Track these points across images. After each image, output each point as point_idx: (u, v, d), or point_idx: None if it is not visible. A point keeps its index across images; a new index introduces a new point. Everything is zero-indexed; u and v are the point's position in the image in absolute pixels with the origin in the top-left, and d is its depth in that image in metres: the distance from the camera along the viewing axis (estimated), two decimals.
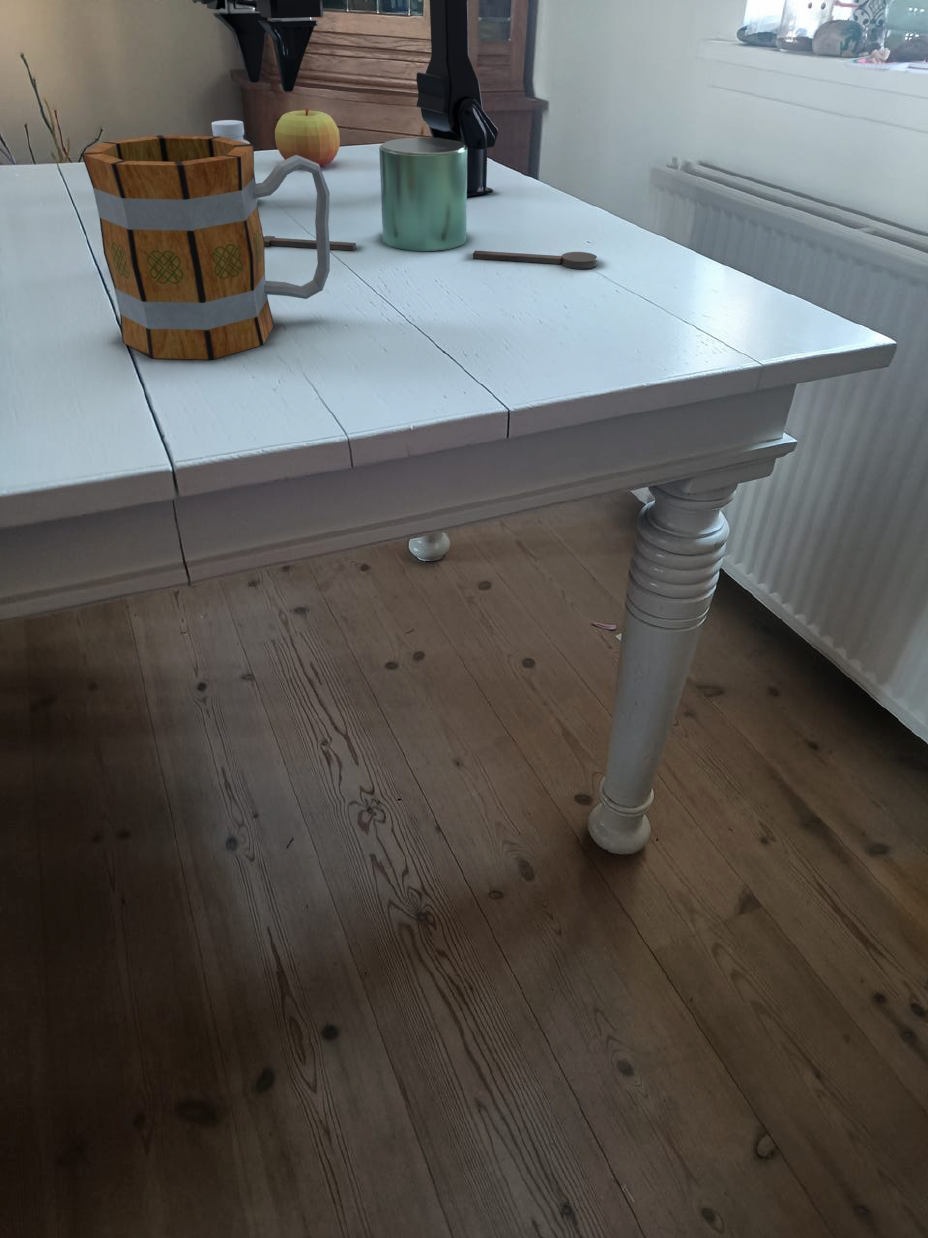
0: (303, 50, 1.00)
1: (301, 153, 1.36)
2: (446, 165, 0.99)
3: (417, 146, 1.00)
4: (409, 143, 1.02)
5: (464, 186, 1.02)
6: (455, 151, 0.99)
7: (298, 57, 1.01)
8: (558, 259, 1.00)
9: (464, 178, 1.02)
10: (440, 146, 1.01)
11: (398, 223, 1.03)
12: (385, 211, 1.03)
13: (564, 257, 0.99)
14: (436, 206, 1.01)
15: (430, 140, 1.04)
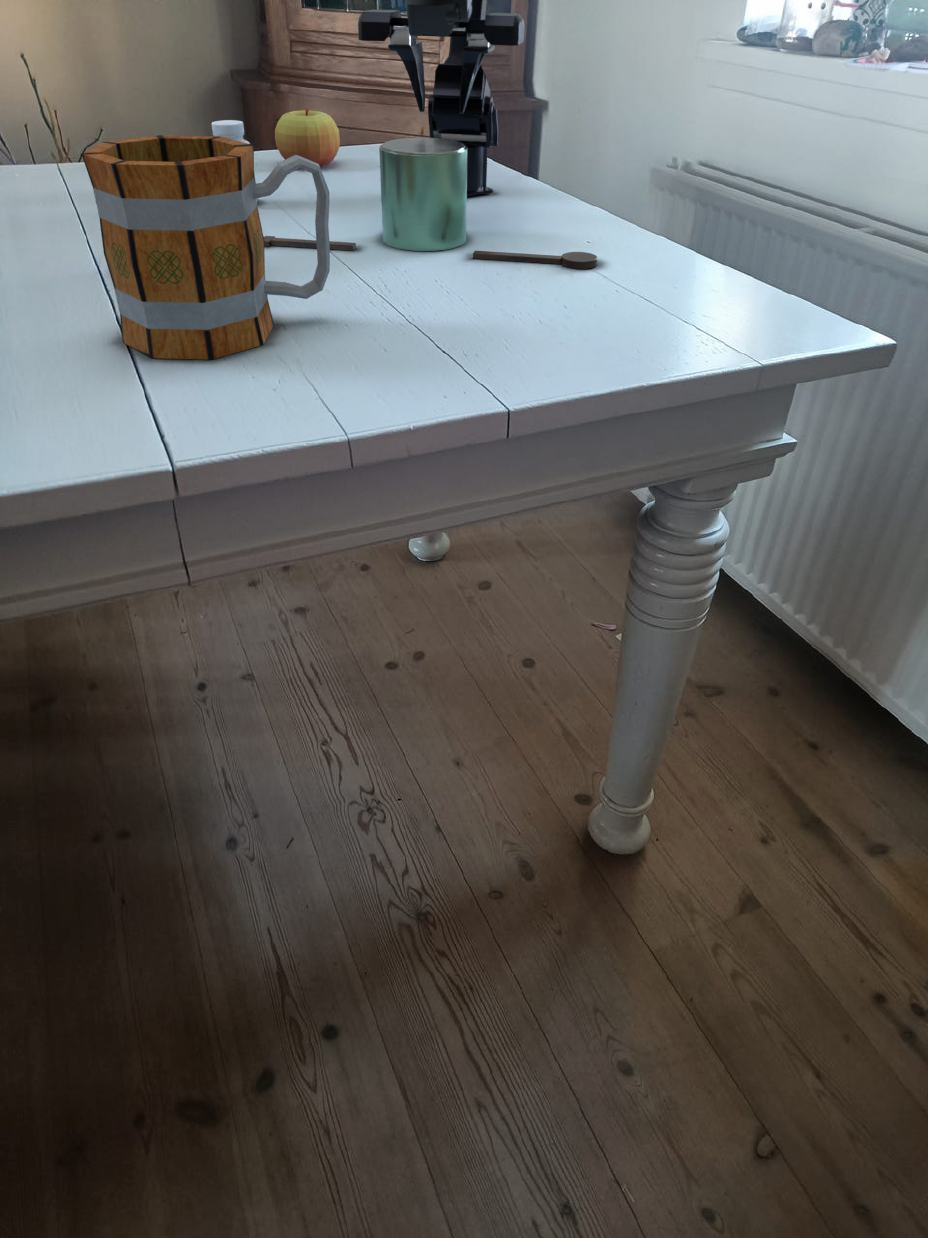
0: (476, 73, 1.07)
1: (301, 153, 1.36)
2: (446, 165, 0.99)
3: (417, 146, 1.00)
4: (409, 143, 1.02)
5: (464, 186, 1.02)
6: (455, 151, 0.99)
7: (473, 79, 1.07)
8: (558, 259, 1.00)
9: (464, 178, 1.02)
10: (440, 146, 1.01)
11: (398, 223, 1.03)
12: (385, 211, 1.03)
13: (564, 257, 0.99)
14: (436, 206, 1.01)
15: (430, 140, 1.04)
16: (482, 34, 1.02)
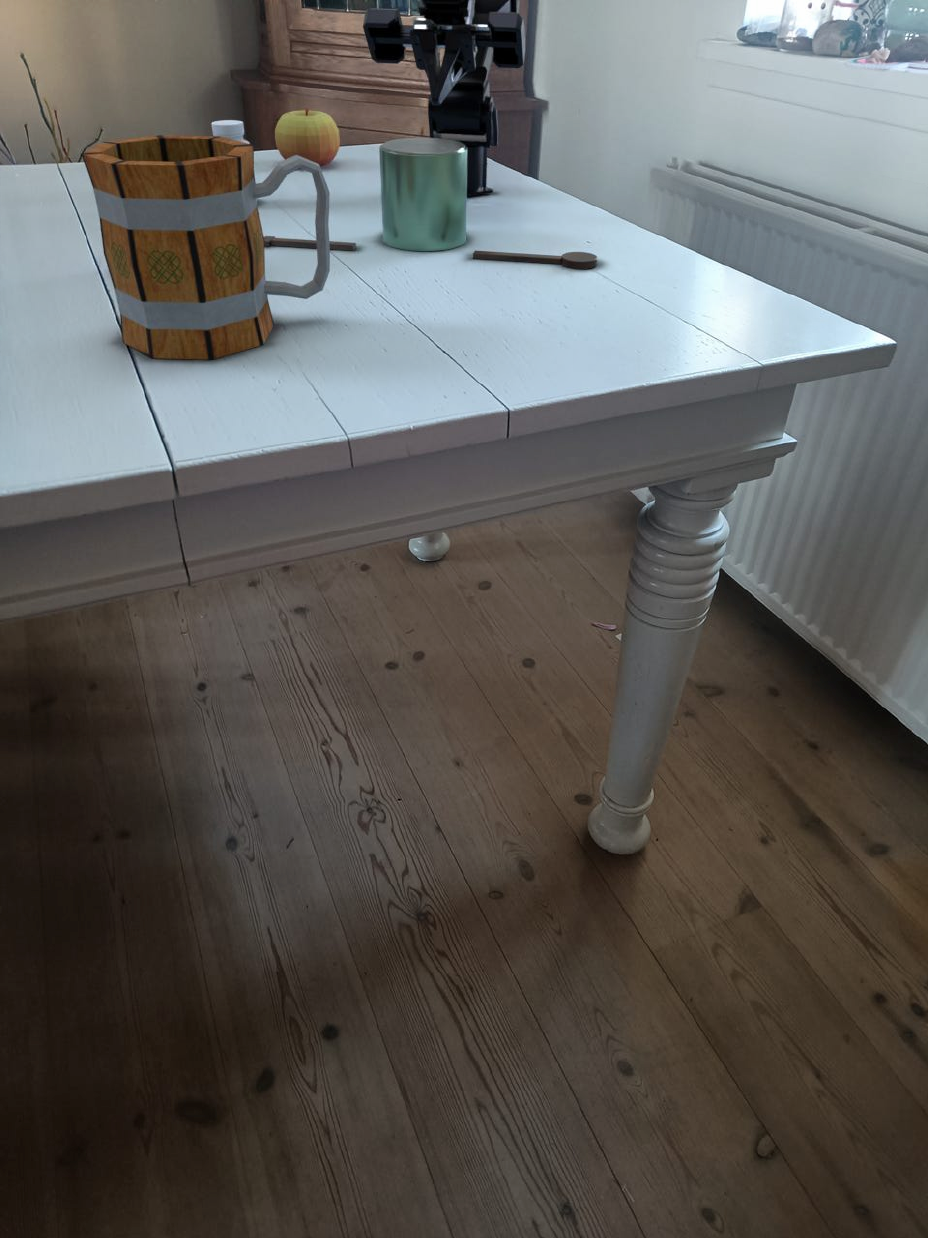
0: (455, 82, 1.07)
1: (301, 153, 1.36)
2: (446, 165, 0.99)
3: (417, 146, 1.00)
4: (409, 143, 1.02)
5: (464, 186, 1.02)
6: (455, 151, 0.99)
7: (452, 84, 1.06)
8: (558, 259, 1.00)
9: (464, 178, 1.02)
10: (440, 146, 1.01)
11: (398, 223, 1.03)
12: (385, 211, 1.03)
13: (564, 257, 0.99)
14: (436, 206, 1.01)
15: (430, 140, 1.04)
16: None
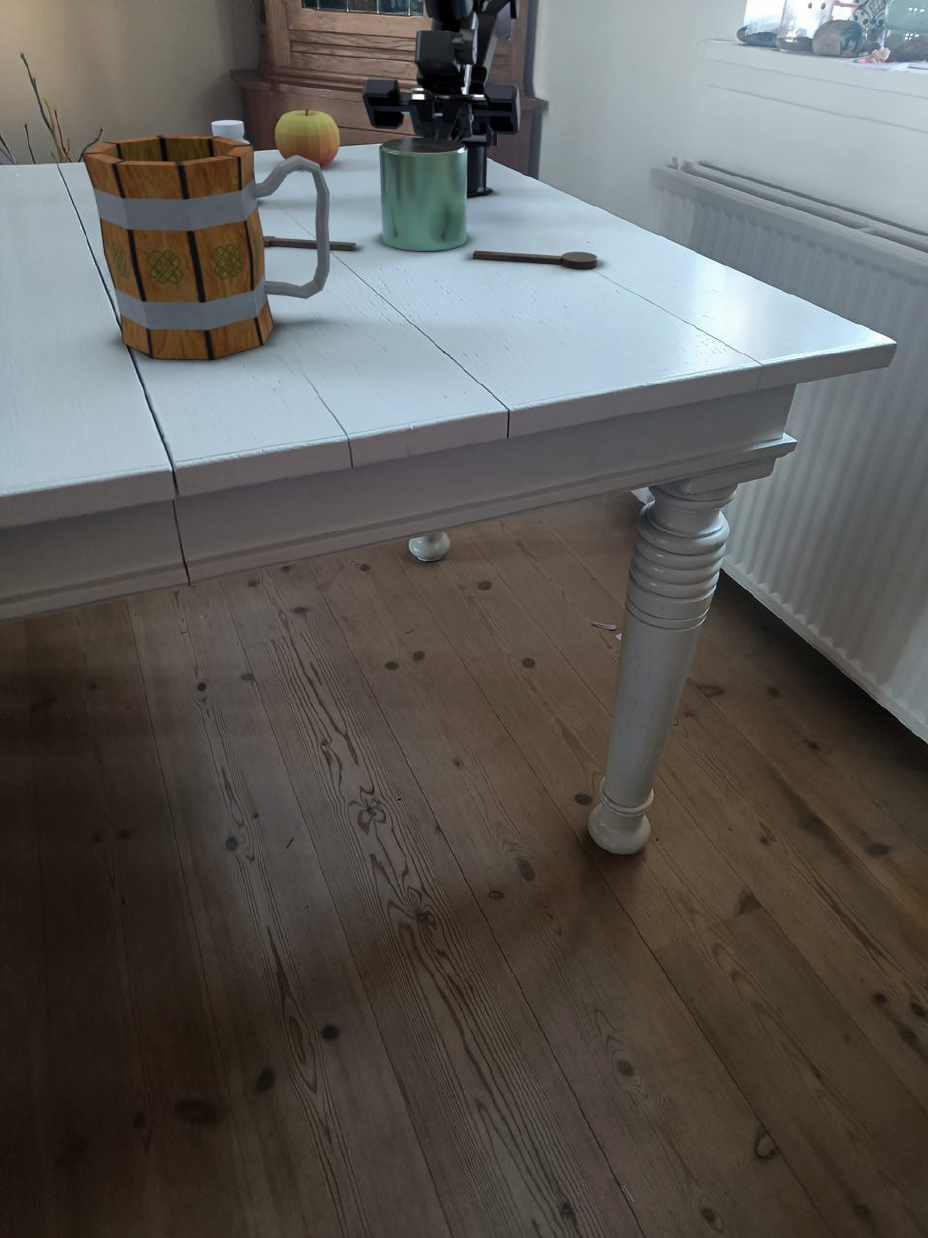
0: None
1: (301, 153, 1.36)
2: (446, 165, 0.99)
3: (417, 146, 1.00)
4: (409, 143, 1.02)
5: (464, 186, 1.02)
6: (455, 151, 0.99)
7: None
8: (558, 259, 1.00)
9: (464, 178, 1.02)
10: (440, 146, 1.01)
11: (397, 223, 1.02)
12: (385, 212, 1.03)
13: (564, 257, 0.99)
14: (436, 207, 1.01)
15: (430, 140, 1.04)
16: None
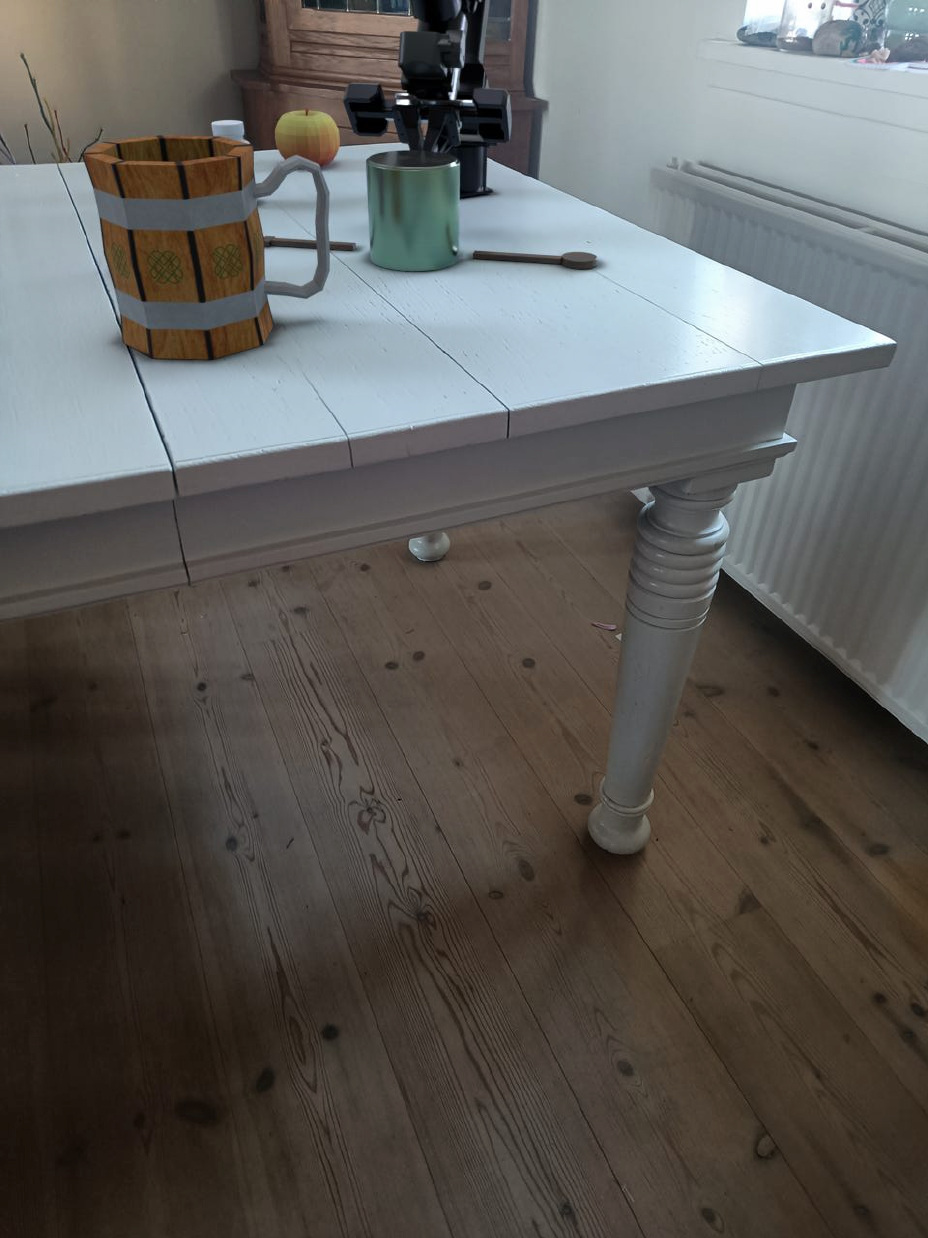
0: None
1: (301, 153, 1.36)
2: (443, 180, 0.93)
3: (407, 160, 0.94)
4: (397, 157, 0.95)
5: (458, 201, 0.97)
6: (450, 164, 0.93)
7: None
8: (558, 259, 1.00)
9: (458, 192, 0.96)
10: (431, 159, 0.95)
11: (391, 243, 0.96)
12: (375, 231, 0.97)
13: (564, 257, 0.99)
14: (433, 224, 0.95)
15: (416, 153, 0.97)
16: None
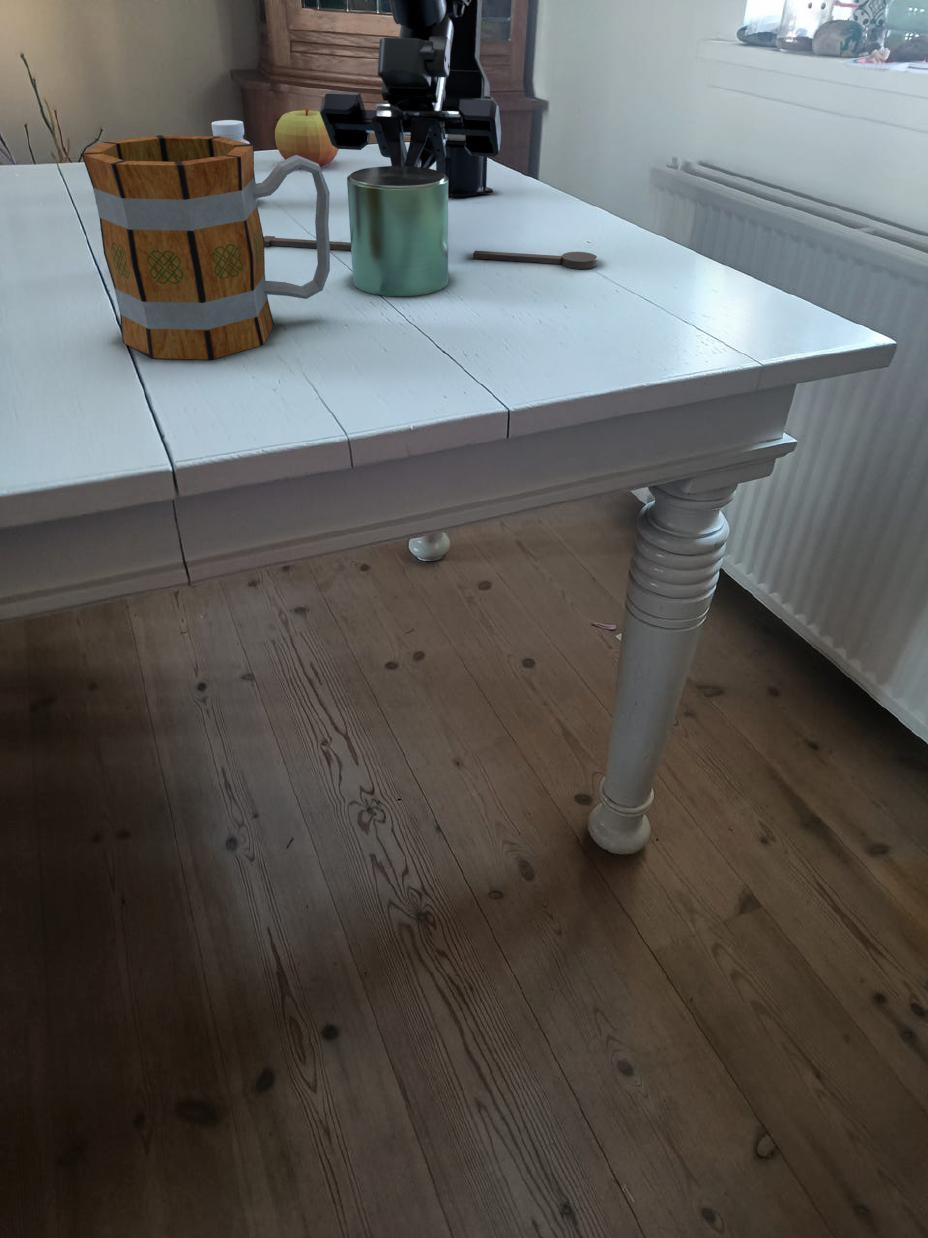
0: None
1: (301, 153, 1.36)
2: (433, 198, 0.86)
3: (393, 177, 0.87)
4: (380, 174, 0.88)
5: (447, 219, 0.90)
6: (440, 181, 0.87)
7: None
8: (558, 259, 1.00)
9: (447, 211, 0.90)
10: (418, 176, 0.88)
11: (379, 267, 0.89)
12: (360, 254, 0.89)
13: (564, 257, 0.99)
14: (424, 245, 0.88)
15: (399, 169, 0.90)
16: None
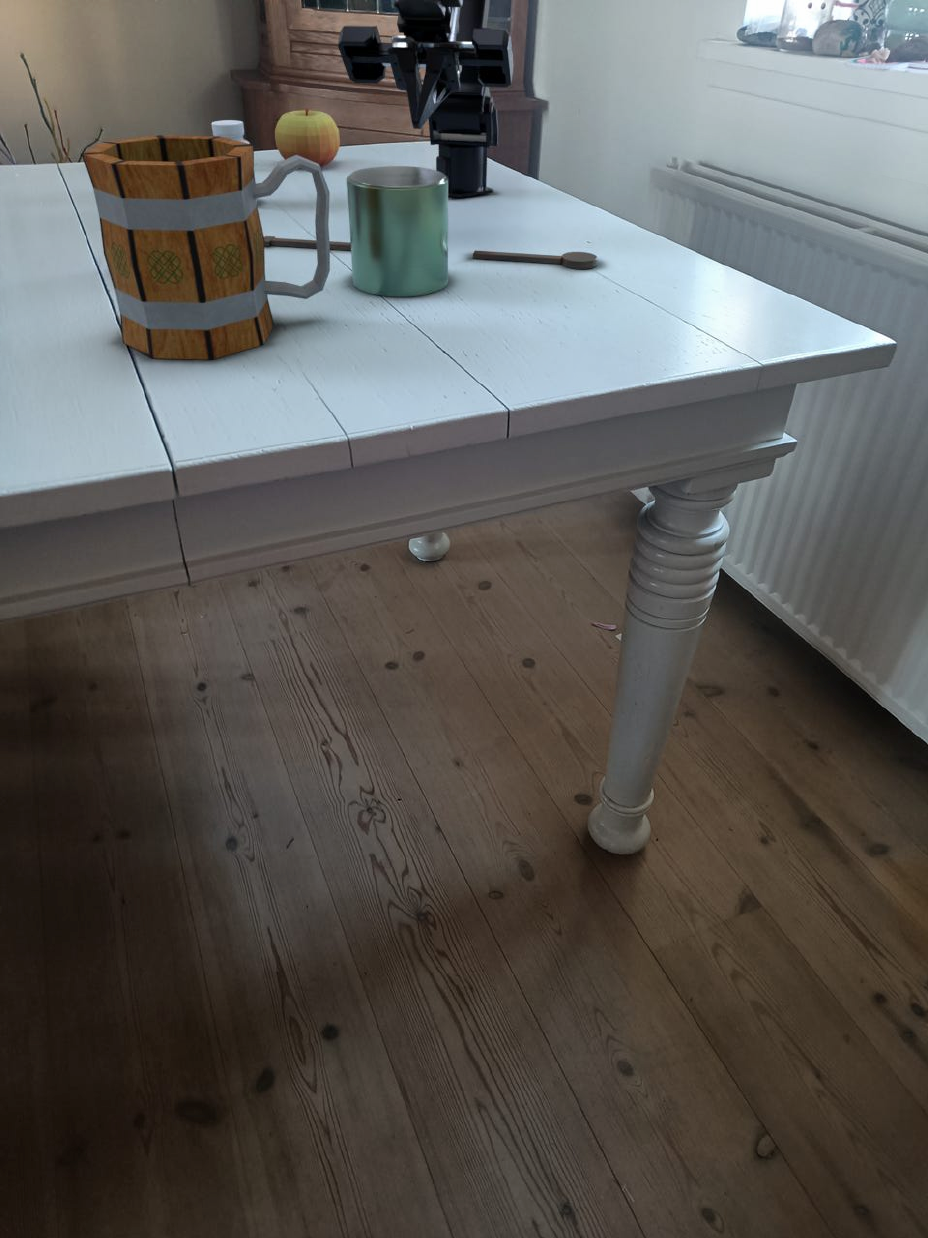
0: (438, 103, 0.99)
1: (301, 153, 1.36)
2: (433, 198, 0.86)
3: (392, 178, 0.87)
4: (379, 174, 0.88)
5: (447, 220, 0.90)
6: (440, 181, 0.87)
7: (434, 105, 0.99)
8: (558, 259, 1.00)
9: (447, 211, 0.90)
10: (418, 176, 0.88)
11: (378, 267, 0.89)
12: (360, 254, 0.89)
13: (564, 257, 0.99)
14: (424, 245, 0.88)
15: (399, 169, 0.90)
16: None
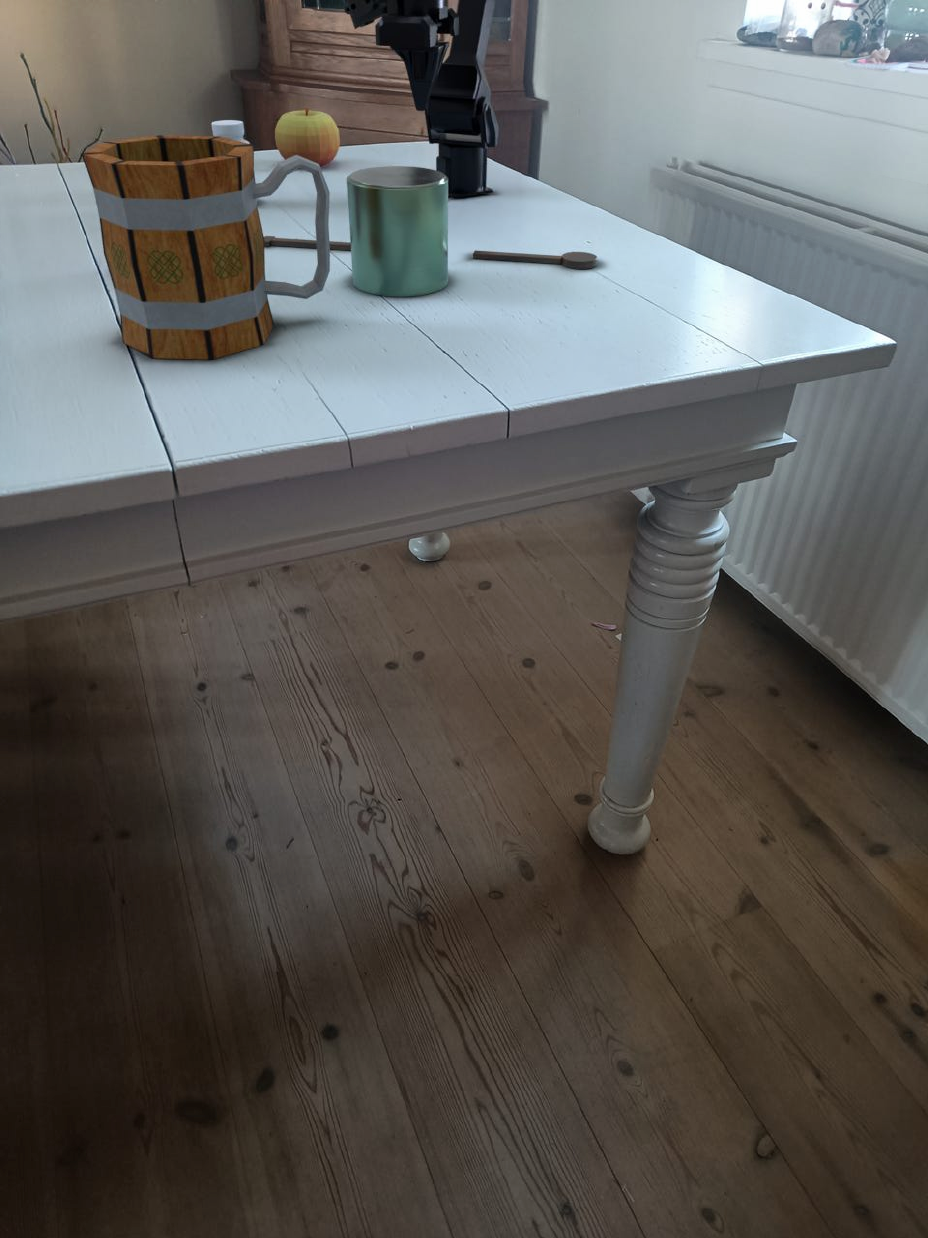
0: (431, 74, 1.06)
1: (301, 153, 1.36)
2: (433, 198, 0.86)
3: (392, 178, 0.87)
4: (379, 174, 0.88)
5: (447, 220, 0.90)
6: (440, 181, 0.87)
7: (427, 80, 1.07)
8: (558, 259, 1.00)
9: (447, 211, 0.90)
10: (418, 176, 0.88)
11: (378, 267, 0.89)
12: (360, 254, 0.89)
13: (564, 257, 0.99)
14: (424, 245, 0.88)
15: (399, 169, 0.90)
16: None
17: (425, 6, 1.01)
